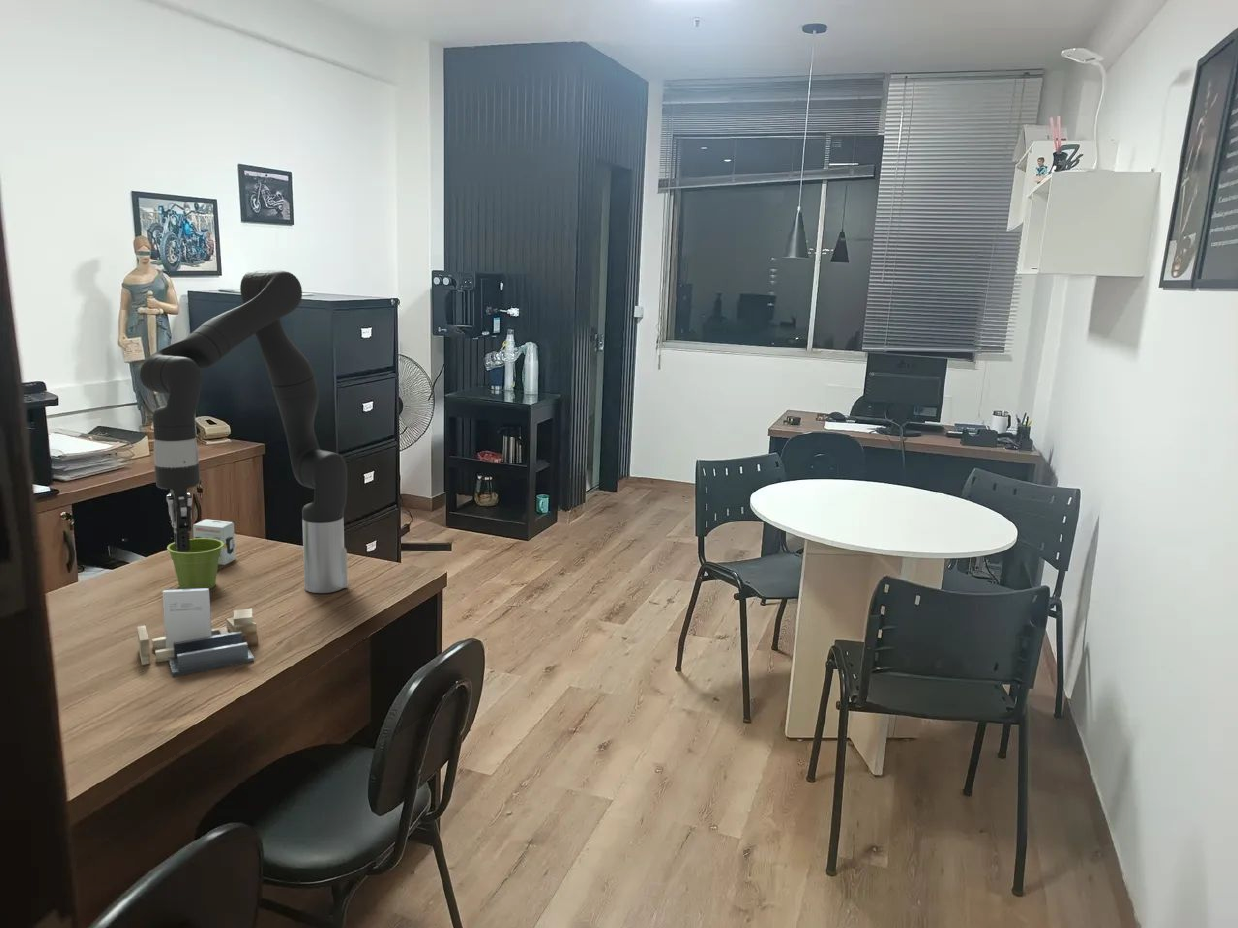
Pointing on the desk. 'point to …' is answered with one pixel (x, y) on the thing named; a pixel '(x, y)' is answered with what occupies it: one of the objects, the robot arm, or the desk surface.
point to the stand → (209, 653)
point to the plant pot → (197, 563)
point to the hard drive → (186, 614)
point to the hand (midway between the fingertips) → (182, 548)
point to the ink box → (218, 537)
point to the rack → (161, 645)
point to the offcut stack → (243, 626)
